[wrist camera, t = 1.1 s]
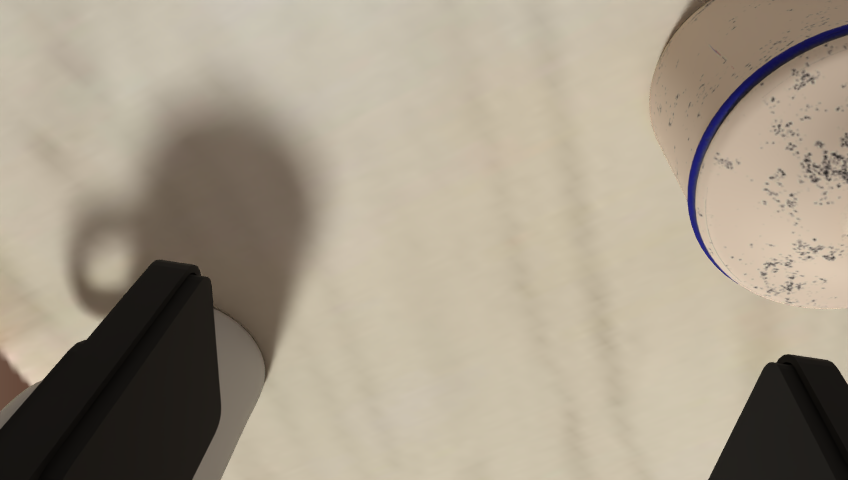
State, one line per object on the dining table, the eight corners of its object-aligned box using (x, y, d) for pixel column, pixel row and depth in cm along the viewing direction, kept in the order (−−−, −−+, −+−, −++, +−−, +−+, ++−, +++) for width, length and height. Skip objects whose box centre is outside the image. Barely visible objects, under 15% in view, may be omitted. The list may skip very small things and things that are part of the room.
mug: (258, 303, 35) (167, 470, 26) (274, 418, 40) (201, 596, 30) (45, 286, 36) (-117, 441, 27) (84, 400, 41) (-44, 567, 31)
